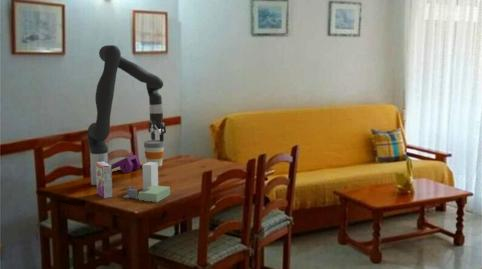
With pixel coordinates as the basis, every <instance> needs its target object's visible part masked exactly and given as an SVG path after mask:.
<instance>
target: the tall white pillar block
mask: <svg viewBox="0 0 482 269" xmlns="http://www.w3.org/2000/svg"><path fill="white" fill-rule="evenodd" d="M141 166H142V190H144V189H146V188H148V187H150V186H152V185H156V186H159V167H158V163H157V162H148V163H147V162H145V163H143V164H141Z"/></svg>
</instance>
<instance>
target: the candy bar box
mask: <svg viewBox="0 0 482 269" xmlns="http://www.w3.org/2000/svg"><path fill="white" fill-rule="evenodd" d="M111 165H112V164H109V163H108V164H107V163H106V162H96V163H95V166H96V183H97V185H96V194H97V195H99V196H100V197H101V198H103V199H104V200H105V199H111V198H113V197H114V194H113V173H112V171H113V169H112V168H111Z"/></svg>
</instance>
